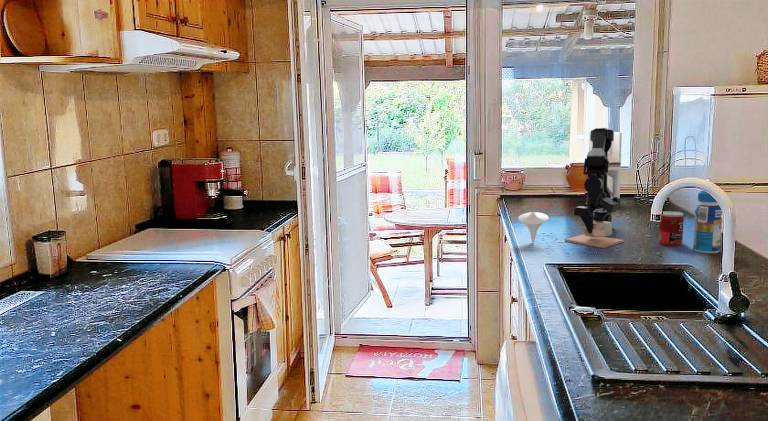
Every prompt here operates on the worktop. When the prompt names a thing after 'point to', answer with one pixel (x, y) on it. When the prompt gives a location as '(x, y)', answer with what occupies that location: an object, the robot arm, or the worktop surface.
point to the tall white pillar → (613, 164)
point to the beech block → (596, 229)
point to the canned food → (671, 228)
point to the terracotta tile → (594, 241)
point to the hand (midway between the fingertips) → (594, 232)
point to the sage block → (608, 228)
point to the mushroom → (533, 222)
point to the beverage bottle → (707, 224)
